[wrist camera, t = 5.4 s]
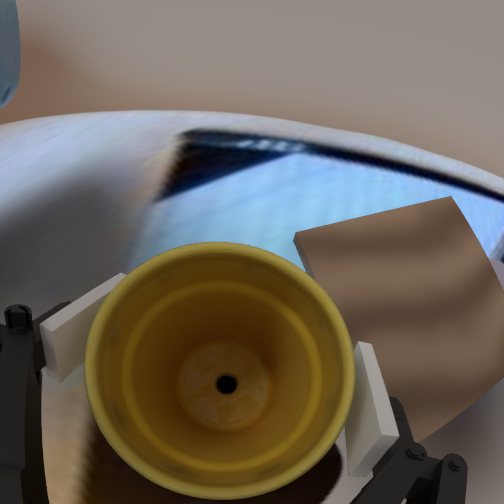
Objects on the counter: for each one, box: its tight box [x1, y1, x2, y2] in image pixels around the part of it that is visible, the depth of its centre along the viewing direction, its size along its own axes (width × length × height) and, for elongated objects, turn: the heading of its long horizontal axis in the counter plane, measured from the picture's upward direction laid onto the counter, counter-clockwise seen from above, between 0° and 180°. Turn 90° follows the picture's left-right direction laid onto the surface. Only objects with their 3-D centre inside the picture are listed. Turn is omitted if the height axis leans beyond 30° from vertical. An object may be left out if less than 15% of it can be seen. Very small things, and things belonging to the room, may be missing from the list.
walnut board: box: [293, 196, 504, 443], centre depth 21 cm, size 18×18×1 cm
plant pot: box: [84, 242, 356, 500], centre depth 14 cm, size 10×10×10 cm
